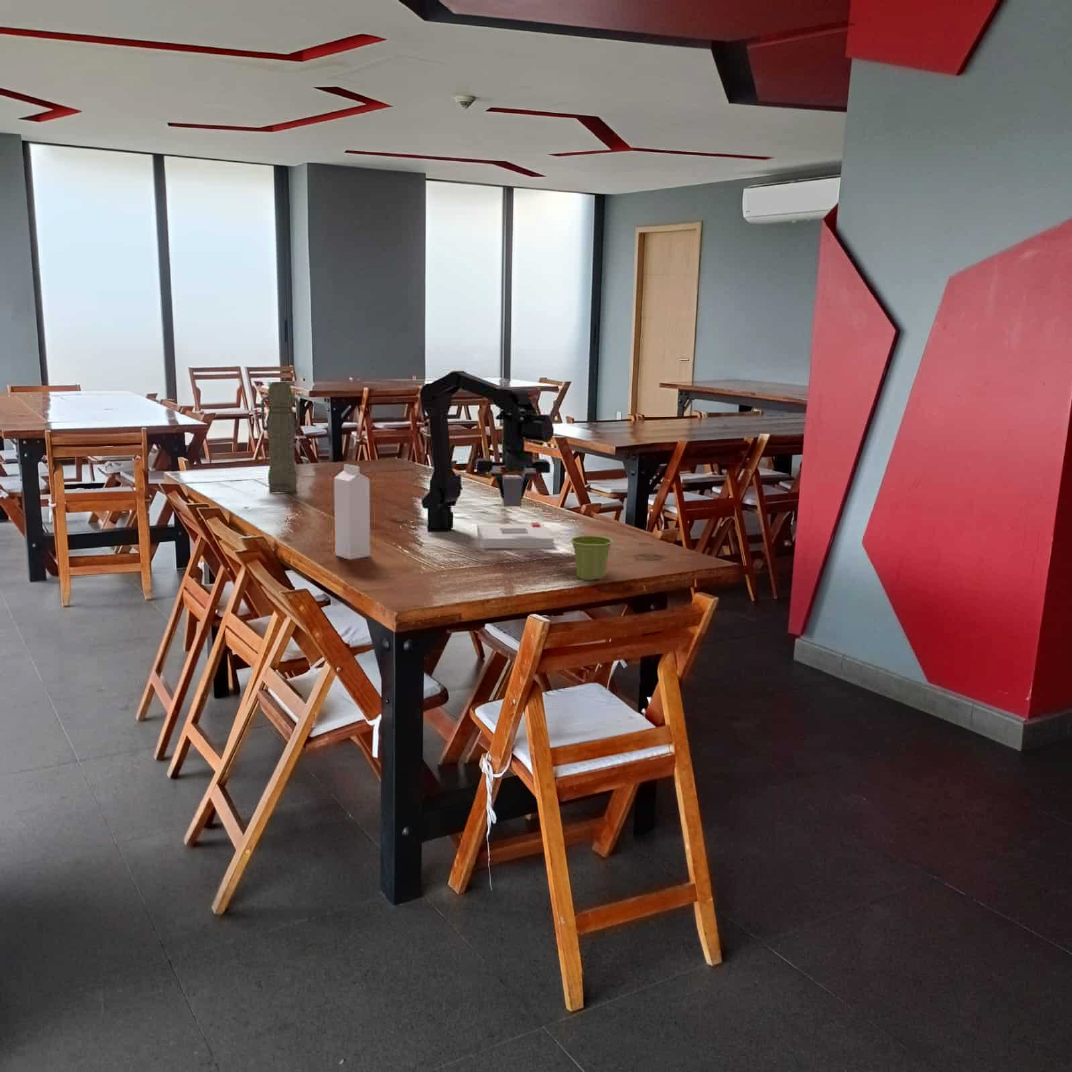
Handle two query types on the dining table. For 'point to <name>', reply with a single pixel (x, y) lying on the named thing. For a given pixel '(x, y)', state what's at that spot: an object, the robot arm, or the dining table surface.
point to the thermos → (281, 436)
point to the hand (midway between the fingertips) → (512, 498)
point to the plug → (512, 490)
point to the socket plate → (514, 536)
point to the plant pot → (591, 556)
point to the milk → (352, 513)
